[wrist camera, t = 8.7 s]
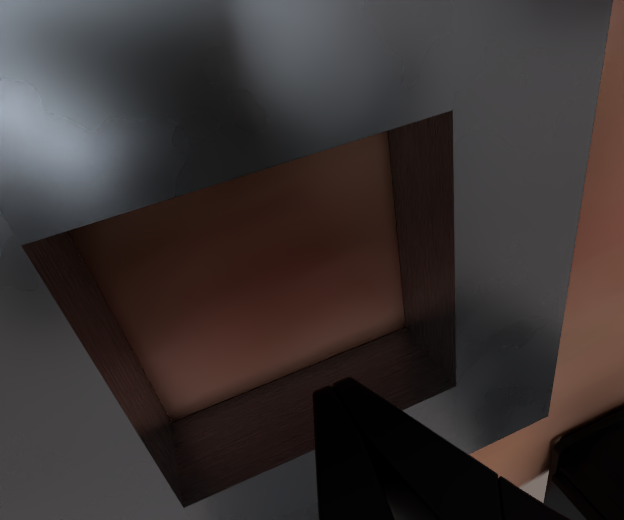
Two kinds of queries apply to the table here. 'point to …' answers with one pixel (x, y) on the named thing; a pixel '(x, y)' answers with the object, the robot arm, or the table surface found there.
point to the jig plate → (261, 155)
